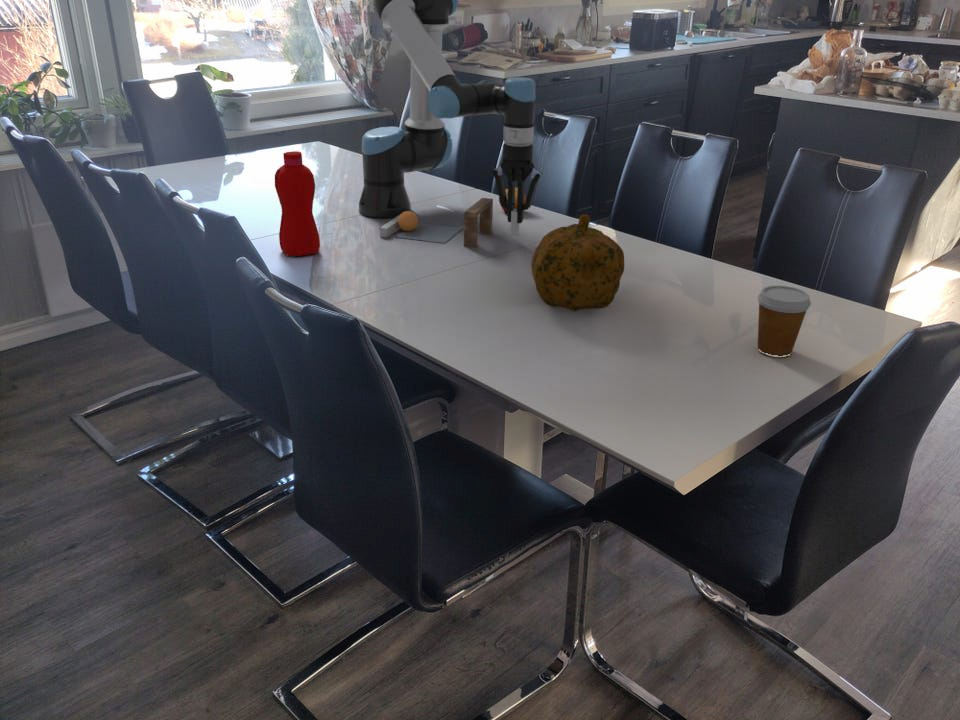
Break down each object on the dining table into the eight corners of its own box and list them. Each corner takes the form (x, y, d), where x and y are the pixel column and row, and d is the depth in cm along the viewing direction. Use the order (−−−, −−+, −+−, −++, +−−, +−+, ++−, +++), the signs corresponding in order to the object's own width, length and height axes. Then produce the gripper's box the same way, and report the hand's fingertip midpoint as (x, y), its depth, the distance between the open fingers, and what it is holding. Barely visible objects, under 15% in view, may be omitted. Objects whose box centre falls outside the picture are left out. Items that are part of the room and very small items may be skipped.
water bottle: (311, 242, 216) (304, 145, 205) (323, 255, 207) (316, 154, 196) (276, 246, 212) (267, 148, 201) (286, 259, 204) (277, 157, 193)
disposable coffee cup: (741, 341, 165) (751, 284, 159) (787, 340, 165) (798, 284, 160) (759, 362, 156) (770, 303, 151) (808, 361, 157) (821, 302, 152)
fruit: (526, 202, 249) (527, 183, 243) (525, 222, 245) (525, 203, 238) (500, 201, 250) (499, 182, 243) (498, 220, 246) (497, 201, 239)
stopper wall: (380, 236, 221) (379, 227, 220) (403, 220, 235) (403, 212, 234) (386, 237, 221) (386, 228, 220) (410, 221, 234) (410, 212, 233)
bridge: (464, 246, 215) (464, 211, 211) (481, 230, 228) (482, 197, 224) (474, 247, 215) (475, 212, 211) (492, 231, 227) (492, 198, 223)
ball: (394, 232, 225) (395, 212, 222) (402, 226, 229) (403, 207, 227) (413, 235, 223) (414, 216, 221) (420, 230, 228) (421, 210, 226)
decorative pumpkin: (505, 294, 183) (517, 205, 175) (575, 283, 195) (589, 199, 187) (565, 328, 169) (581, 233, 160) (636, 314, 181) (655, 225, 172)
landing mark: (395, 237, 221) (395, 236, 221) (415, 223, 233) (415, 222, 233) (444, 243, 217) (444, 242, 217) (462, 228, 229) (462, 228, 229)
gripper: (488, 144, 206) (486, 235, 216) (539, 148, 202) (535, 241, 212) (497, 138, 212) (495, 227, 222) (547, 142, 208) (542, 233, 219)
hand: (514, 234), depth 217 cm, fingers closed
